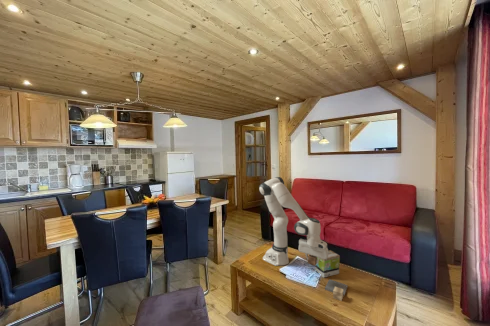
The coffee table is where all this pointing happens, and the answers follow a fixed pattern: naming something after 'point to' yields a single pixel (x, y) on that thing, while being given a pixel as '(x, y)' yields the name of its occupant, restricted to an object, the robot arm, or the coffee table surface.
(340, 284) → the slate coaster
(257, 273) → the coffee table surface
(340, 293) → the maple cube
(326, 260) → the tea box
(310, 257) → the walnut cube
